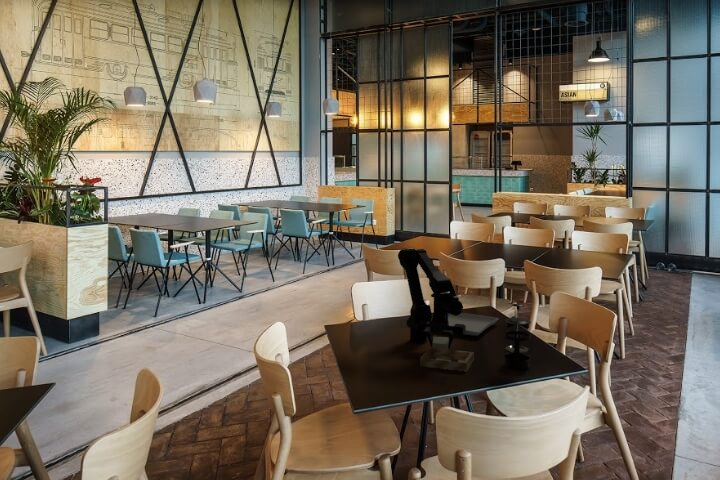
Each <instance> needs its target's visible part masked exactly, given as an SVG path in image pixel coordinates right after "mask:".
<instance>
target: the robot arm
mask: <svg viewBox="0 0 720 480" xmlns="http://www.w3.org/2000/svg"><path fill="white" fill-rule="evenodd" d="M397 258H398V260H399V261H398V262H399V264H400V267H402V268H403V270H404V271H405V275H406V279H407V283H408V284H407V285H408V289H409V293H410V298H411V303H412V305H411V306H410V310H409V314H410V316H409V317H408V319H407V320H406V327H408V328H409V329H410V331H409V333H410V335H409V337H410V339H408V342H409V343H418V344H425V343H426V341H428V342H429V345H430V347H431V348H432V343H433V338H434V334H440V335H441V334H443V333H444V332H443V330H449V331H450V332H451V333H449V334H448V337H449V344H448V349H449V350H451V347H452V345H453V343H454V339H455V337H457V336H458V335H459V336H464V335H463V334H464V333H465V331H466V326H465V325H464V324H455V325H454V326H449V321H448V314H452V315H455V316H458V315H460V314H461V313H463V310H464V306H463V303H462V301H461V300H459V299H460V297H457V294H456V290H455V288H454V286H453V284H452V283H453V282H452V281H451V279H450V277H448V276H447V275H445V274H444V273H442V272H441V271H440V270H439V269H438V267H436V265H435V264H434V262H433V261H432V259H431V258H430V257H429V255H428V254H427V251H426V249H424V248H418V249H417V248H415V247H413V248H402V249H400V250H399V251H398V253H397ZM419 266H420V268H421V269H422V272H424V274H425V275H426V277H427V278H428V286H429V288H430V289H431V291H432V293H431V295H430V297H431V298H433V313H432V310H431V309H432V308H431V306H430V304H427V303H426V302H425V299H424V296H423V295H424V294H423V290H422V285H421V280H420V276H419V271H418V267H419ZM431 320H432V321H431Z"/></svg>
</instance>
